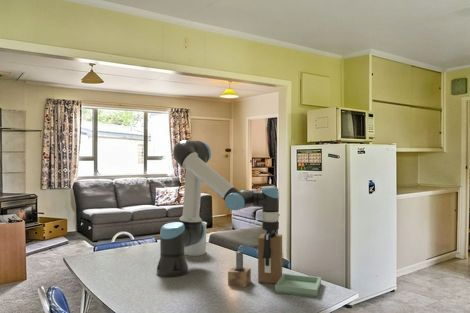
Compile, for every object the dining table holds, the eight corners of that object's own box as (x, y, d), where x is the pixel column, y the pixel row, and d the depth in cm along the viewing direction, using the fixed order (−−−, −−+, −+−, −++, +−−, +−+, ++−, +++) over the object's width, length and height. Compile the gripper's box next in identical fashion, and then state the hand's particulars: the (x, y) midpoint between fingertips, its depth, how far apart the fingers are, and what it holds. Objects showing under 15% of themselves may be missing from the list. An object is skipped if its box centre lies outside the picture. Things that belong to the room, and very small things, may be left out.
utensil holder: (205, 256, 216) (205, 225, 216) (179, 256, 216) (179, 225, 216) (207, 249, 230) (207, 220, 231) (183, 249, 231) (183, 220, 231)
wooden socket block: (228, 285, 167) (228, 271, 167) (233, 279, 174) (233, 266, 174) (245, 287, 164) (245, 273, 164) (250, 281, 172) (250, 268, 172)
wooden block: (280, 284, 168) (280, 238, 168) (258, 282, 170) (257, 237, 170) (282, 277, 178) (282, 234, 178) (261, 275, 180) (261, 233, 180)
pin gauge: (235, 283, 168) (235, 252, 168) (237, 281, 171) (237, 250, 171) (241, 284, 167) (241, 252, 167) (243, 282, 170) (243, 251, 170)
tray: (274, 292, 157) (274, 285, 157) (283, 280, 173) (283, 273, 173) (316, 297, 152) (316, 289, 152) (321, 284, 168) (321, 277, 168)
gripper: (272, 225, 162) (273, 277, 162) (283, 217, 184) (283, 263, 183) (255, 224, 164) (256, 275, 164) (268, 216, 186) (268, 261, 186)
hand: (270, 269), depth 174 cm, fingers closed on wooden block, 10 cm apart
